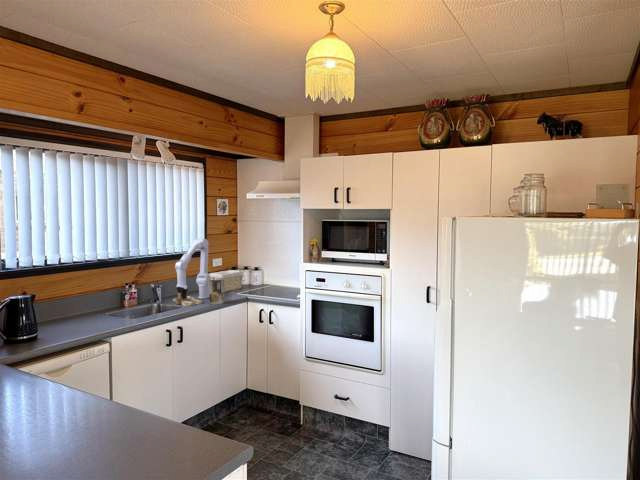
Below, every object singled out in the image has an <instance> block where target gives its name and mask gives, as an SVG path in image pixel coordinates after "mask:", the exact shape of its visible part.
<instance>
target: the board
mask: <svg viewBox="0 0 640 480" xmlns="http://www.w3.org/2000/svg"><path fill="white" fill-rule="evenodd" d="M188 297H191V298H192V299H189V300H183V301H181V304H182V306H184V307H189V306H190V305H191V306H195V304H197V305H202V303H203V304H204V302H203V299H200V298H195V297H193V296H190V295H189V296H188V295H187V298H188ZM175 298H176V297H174V298H172V301H173V302H174V301H175V302H174V303H176V300H175ZM181 304H180V305H181ZM191 306H190V307H191Z"/></svg>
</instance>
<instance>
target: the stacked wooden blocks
mask: <svg viewBox="0 0 640 480" xmlns="http://www.w3.org/2000/svg"><path fill="white" fill-rule="evenodd" d="M187 296H188V293H187V294H186V298H184V299H182V295H181V293H178V292H177V297H174V298H175V300H176V302H175V305H181V301H183V300H189V299H192V298H191V297H192V296H190V297H188V298H187Z"/></svg>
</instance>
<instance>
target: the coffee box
mask: <svg viewBox="0 0 640 480" xmlns="http://www.w3.org/2000/svg"><path fill="white" fill-rule="evenodd" d="M208 283H209V298H208V299H209V304H210V305H223V304H225V302H226V300H225V292H224V280H210V281H209V282H208Z"/></svg>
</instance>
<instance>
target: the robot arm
mask: <svg viewBox="0 0 640 480" xmlns="http://www.w3.org/2000/svg"><path fill="white" fill-rule="evenodd" d="M209 242H210V241H208V239H206V238H194V239H193V241H192V242H191V246H190V248H189V249H188V251H187V252H186V253H184V254H183V255H182V256H181V258H180V260H179V261H177V262H176V263H174V264H175V265H174V269H175V271H176V276H177V278H176V279H177V283H176V290H177V294H178V293H181V295H182V299H184V298H186V294H187V295H188V291H189V288H188V285H187V277H186V276H187V274H186V271H187V268H188V264H189V262H190V261H191V259H192V256H193V254H194V253H195V252H196V251H197V250H199V251H200V266H199V267H200V268H199V273H198V274H197V276H196V279H195V282H196V285H197V286H198V292H199V293H198V295H199V296H197V299H199V300H204V299H210V298H209V283H208V282H209V281H210V280H211V278H210V275H209V274H210V273H208V272H209V271H208V267H209V266H208V265H209Z"/></svg>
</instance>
